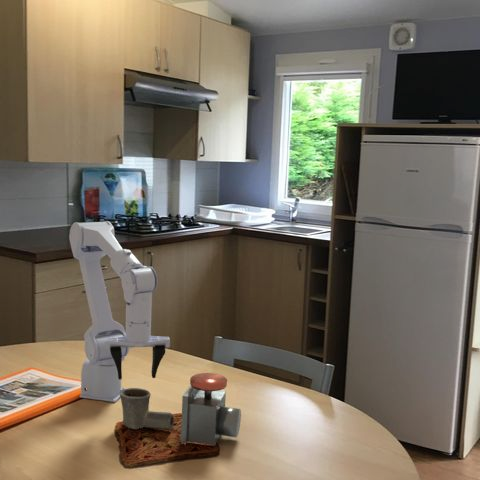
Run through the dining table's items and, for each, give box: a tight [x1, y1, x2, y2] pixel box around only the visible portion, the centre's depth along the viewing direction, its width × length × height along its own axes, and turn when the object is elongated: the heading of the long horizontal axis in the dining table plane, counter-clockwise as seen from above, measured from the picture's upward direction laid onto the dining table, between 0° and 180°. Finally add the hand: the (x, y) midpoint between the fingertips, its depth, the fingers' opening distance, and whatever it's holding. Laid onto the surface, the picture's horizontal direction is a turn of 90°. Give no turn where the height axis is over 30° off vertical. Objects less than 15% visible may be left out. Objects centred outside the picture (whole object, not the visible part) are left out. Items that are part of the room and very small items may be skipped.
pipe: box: [119, 387, 175, 430], centre depth 139 cm, size 6×13×8 cm, turn 78°
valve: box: [180, 372, 242, 445], centre depth 136 cm, size 12×11×13 cm
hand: (136, 377), depth 143 cm, fingers open, 7 cm apart
